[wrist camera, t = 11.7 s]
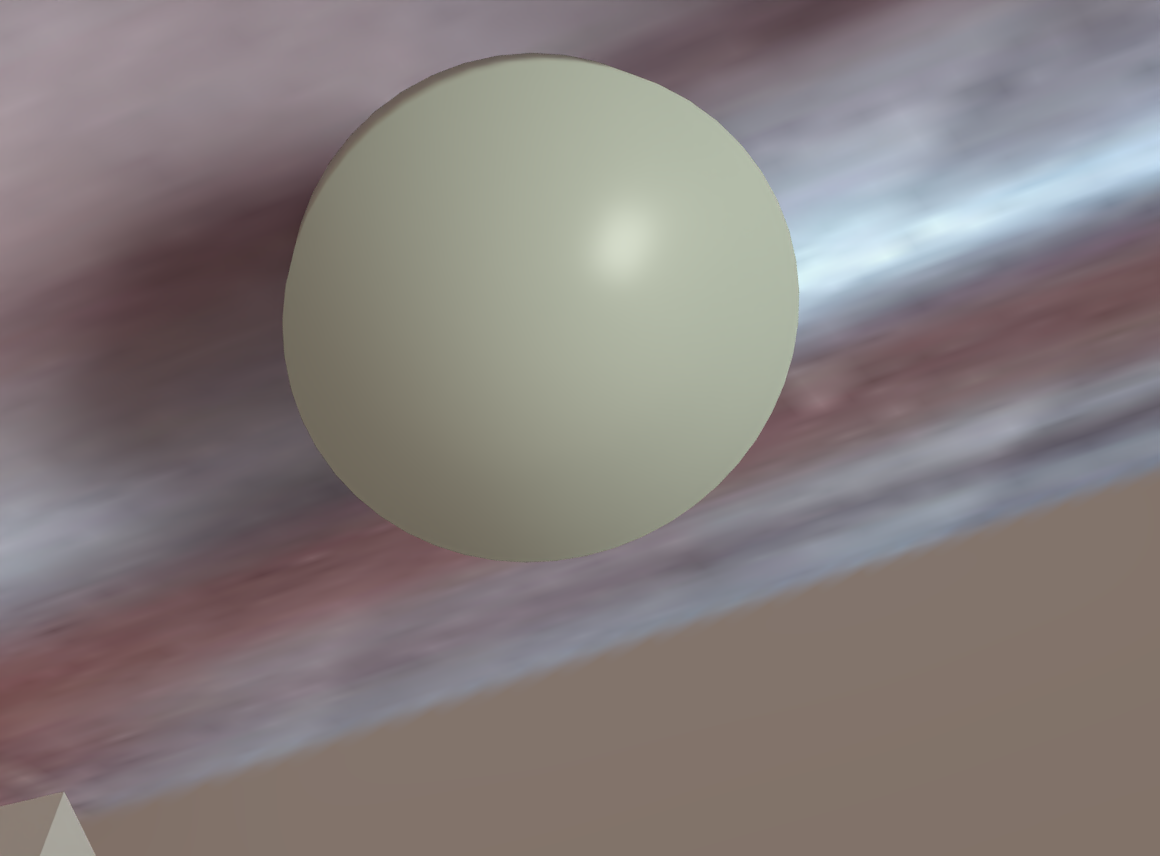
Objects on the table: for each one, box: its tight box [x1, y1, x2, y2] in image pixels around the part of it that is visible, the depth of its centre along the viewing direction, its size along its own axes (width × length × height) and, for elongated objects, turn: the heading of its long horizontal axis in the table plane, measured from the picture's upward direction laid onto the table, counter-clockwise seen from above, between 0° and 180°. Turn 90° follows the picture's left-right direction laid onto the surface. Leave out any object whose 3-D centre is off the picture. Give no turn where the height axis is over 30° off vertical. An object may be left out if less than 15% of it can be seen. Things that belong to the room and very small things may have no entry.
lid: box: [282, 53, 799, 562], centre depth 22 cm, size 11×11×2 cm
